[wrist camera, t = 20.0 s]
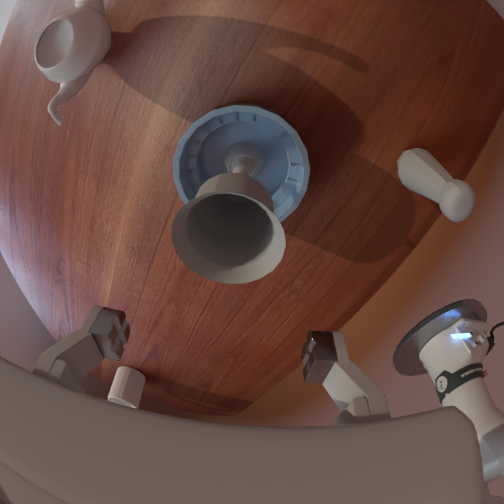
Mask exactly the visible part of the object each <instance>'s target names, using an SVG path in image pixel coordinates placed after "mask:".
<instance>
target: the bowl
mask: <svg viewBox="0 0 504 504" xmlns="http://www.w3.org/2000/svg"><path fill="white" fill-rule="evenodd" d="M243 141H245V142H250V143H252V144H254V145H256V146H257V147H258V148H259V149H260V150H261V151H262V153H263V155H264V159H265V164H264V169H263V170H262V172H261V173H260V174H259V175H258V176H257V177H256V178H254V179H256V180H257V181H259V182H260V183H261V184H262V185H263V186H264V187H265V188H266V189H267V190H268V192H269V194H270V196H271V198H272V199H273V206H274V214H275V215H276V217H277V219H278V220H279V222H282V221H284V220H285V219H286V218H287V217H288V216H289V215H290V214H291V213H292V212H293V211H294V210H295V209H296V208H297V207H298V205H299V204H300V202H301V200H302V198H303V196H304V195H305V193H306V191H307V187H308V181H309V176H310V165H309V159H308V153H307V149H306V147H305V145H304V144H303V142H302V140H301V138H300V136H299V135H298V133H297V131H296V130H295V128H294V127H293V126H292V124H291V123H290V122H288V121H287V120H286V119H285V118H284V117H283V116H282V115H280V114H279V113H278V112H277V111H275V110H273V109H270V108H268V107H265V106H263V105H261V104H258V103H246V102H236V103H231V104H227V105H223V106H220V107H217V108H216V109H214V110H212V111H210V112H209V113H207V114H206V115H204V116H203V117H201V118H200V119H198V120H197V121H195V122H194V123H193V124H192V125H191V126H190V127H189V129H188V130H187V131H186V132H185V134H184V135H183V136H182V138H181V139H180V141H179V144H178V147H177V150H176V153H175V156H174V160H173V170H174V182H175V184H176V187H177V190H178V193H179V195H180V198H181V199H182V201H183V202H184V203H185V204H186V203H188V202H189V201H190V200H191V199H194V198H195V196H196V194H197V193H198V191H199V189H200V187H201V186H202V185H203V184H204V183H205V182H206V181H207V180H208V179H210V178H212V177H215V176H217V175H219V174H224V173H226V171H225V169H224V167H223V155H224V153H225V151H226V149H227V148H228V147H230V146H231V145H232V144H234V143H237V142H243Z"/></svg>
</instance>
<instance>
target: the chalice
mask: <svg viewBox="0 0 504 504" xmlns="http://www.w3.org/2000/svg"><path fill="white" fill-rule="evenodd" d="M264 164H265V159H264V155H263V153H262V151H261V150H260V149H259V148H258V147H257V146H256V145H254V144H252V143H250V142H245V141H243V142H237V143H234V144H232V145H231V146H230V147H228V148H227V149H226V151H225V153H224V155H223V167H224V169H225V171H226V173H224V174H219V175H217V176H215V177H212V178H210V179H208V180H207V181H206V182H205V183H204V184H203V185H202V186H201V187H200V189H199V191H198V193H197V194H196V196H195V198H194V199H191V200H190V201H189V202H188V203H186V204H185V205H184V206H183V207H182V208H181V209H180V210H179V211H178V213H177V215H176V217H175V219H174V222H173V224H172V242H173V245H174V247H175V250H176V253H177V254H178V256H179V257H180V258H181V259H182V261H183V262H184V263H185V264H186V266H188V267H189V268H190V269H192V270H193V271H195V272H196V273H197V274H199V275H201V276H203V277H205V278H208V279H210V280H213V281H217V282H222V283H228V284H236V283H247V282H251V281H254V280H257V279H260V278H262V277H264V276H265V275H267V274H268V273H270V272H271V271H273V270H274V268H275V267H276V266H277V265H278V263H279V262H280V261H281V259H282V257H283V253H284V249H285V246H286V244H285V236H284V230H283V228H282V226H281V224H280V222H279V220H278V219H277V217H276V215H275V214H274V206H273V199H272V198H271V196H270V194H269V192H268V190H267V189H266V188H265V187H264V186H263V185H262V184H261V183H260V182H259V181H257V180H256V179H254V178H256V177H257V176H258V175H259V174H260V173H261V172H262V170H263V169H264Z"/></svg>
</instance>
